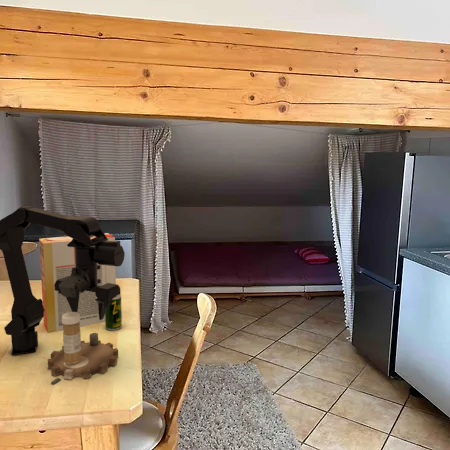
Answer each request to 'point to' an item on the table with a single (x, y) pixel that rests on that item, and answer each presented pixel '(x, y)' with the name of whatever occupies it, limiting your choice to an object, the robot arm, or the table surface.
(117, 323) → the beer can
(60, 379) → the index mark
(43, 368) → the table surface
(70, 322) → the sprinkles bottle
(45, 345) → the table surface
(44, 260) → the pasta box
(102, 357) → the brown gear wheel
